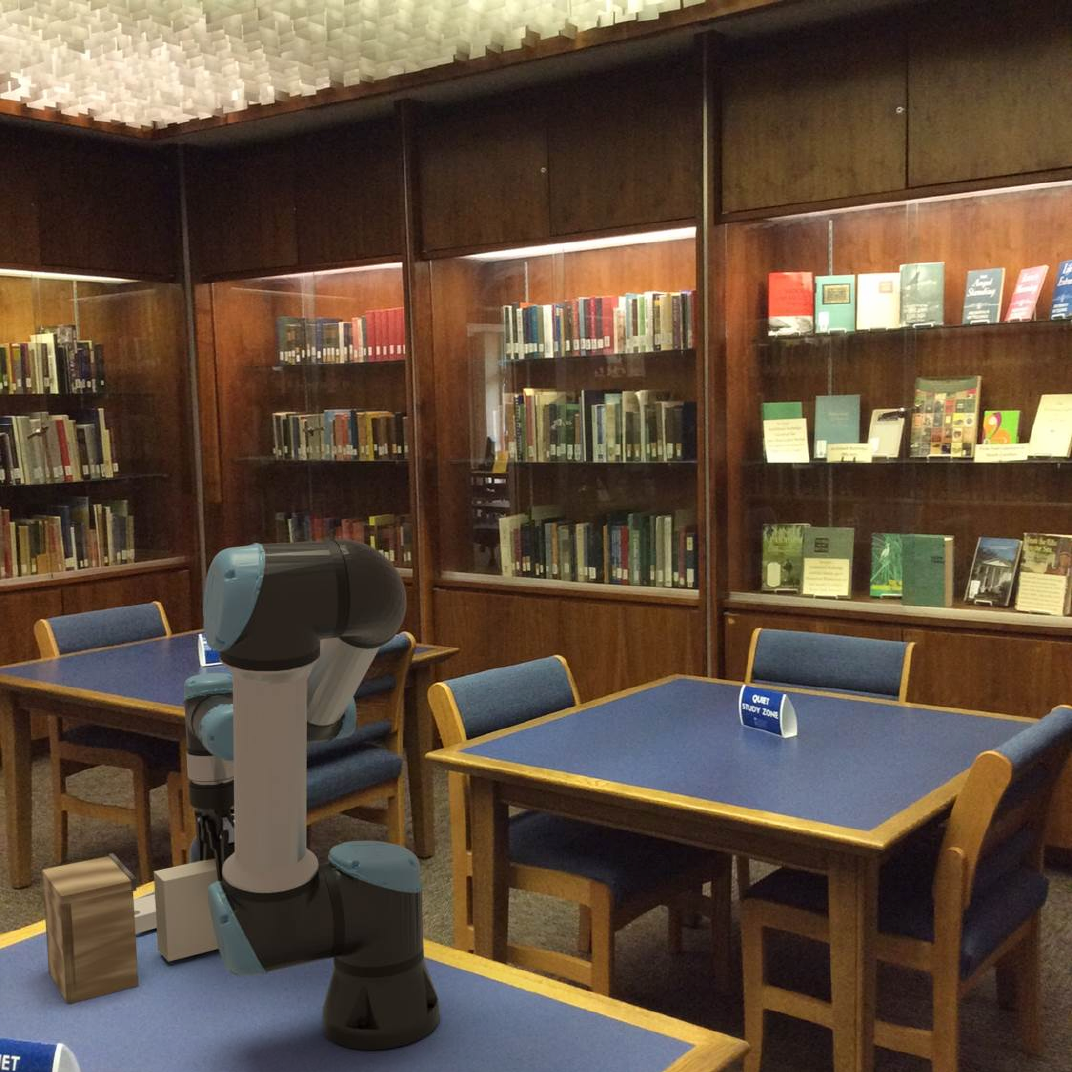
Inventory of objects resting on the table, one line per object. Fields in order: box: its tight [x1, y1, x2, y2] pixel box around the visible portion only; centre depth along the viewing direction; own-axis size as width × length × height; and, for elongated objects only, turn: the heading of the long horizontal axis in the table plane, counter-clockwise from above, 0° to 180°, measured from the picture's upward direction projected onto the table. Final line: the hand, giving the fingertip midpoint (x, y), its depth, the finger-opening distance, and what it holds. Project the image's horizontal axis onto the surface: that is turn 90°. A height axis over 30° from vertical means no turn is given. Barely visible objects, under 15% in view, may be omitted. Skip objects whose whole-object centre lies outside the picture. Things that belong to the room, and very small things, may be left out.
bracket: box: [134, 893, 157, 935], centre depth 194 cm, size 13×7×8 cm, turn 130°
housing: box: [41, 852, 139, 1005], centre depth 175 cm, size 13×10×16 cm
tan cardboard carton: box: [153, 858, 219, 962], centre depth 183 cm, size 5×10×12 cm, turn 123°
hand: (222, 928), depth 186 cm, fingers closed on tan cardboard carton, 5 cm apart
